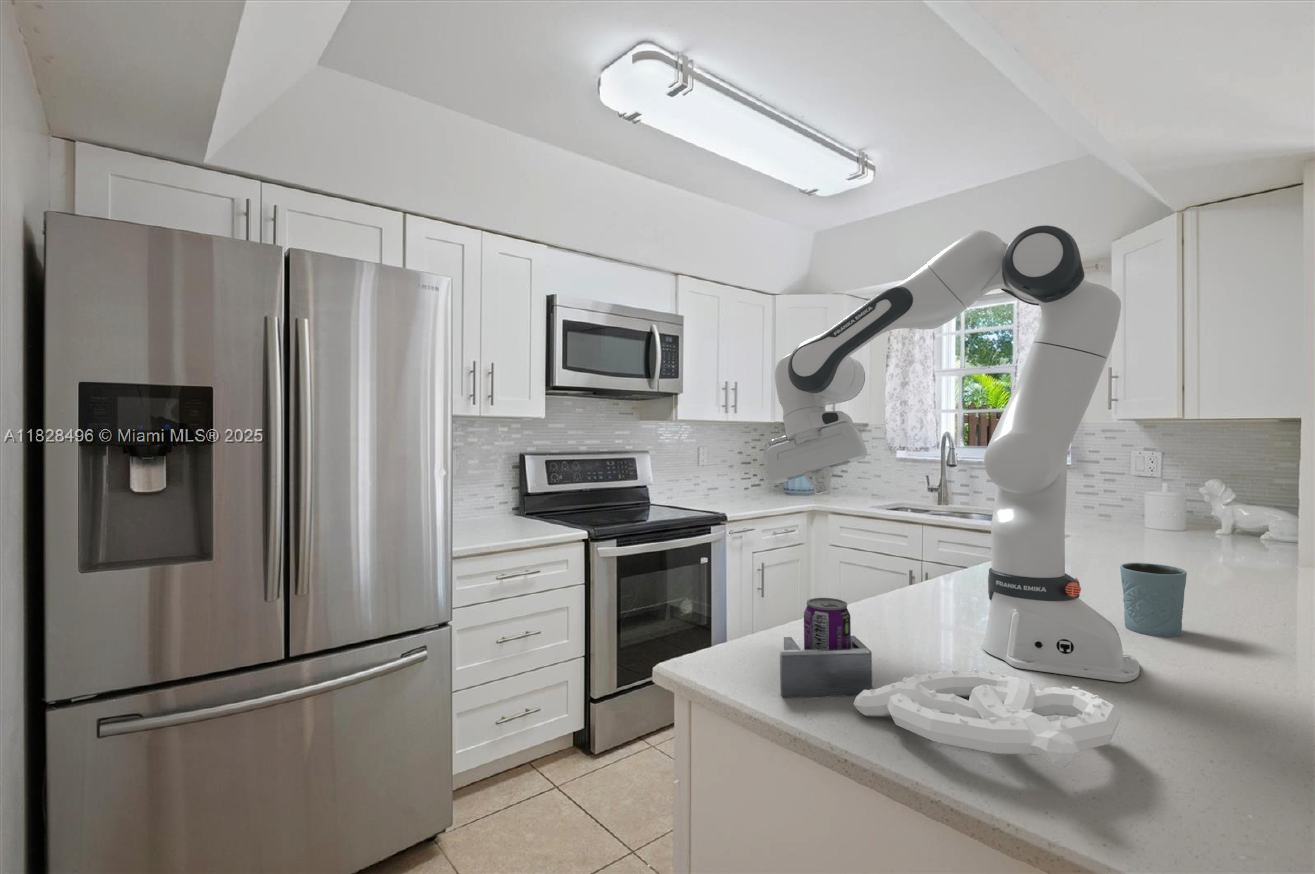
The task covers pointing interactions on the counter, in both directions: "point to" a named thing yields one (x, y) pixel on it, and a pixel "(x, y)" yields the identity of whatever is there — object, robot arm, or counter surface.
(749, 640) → the counter surface
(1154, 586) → the teal embossed flower pot
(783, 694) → the grey u-shaped holder
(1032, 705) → the pretzel
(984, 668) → the counter surface
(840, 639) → the beverage can
